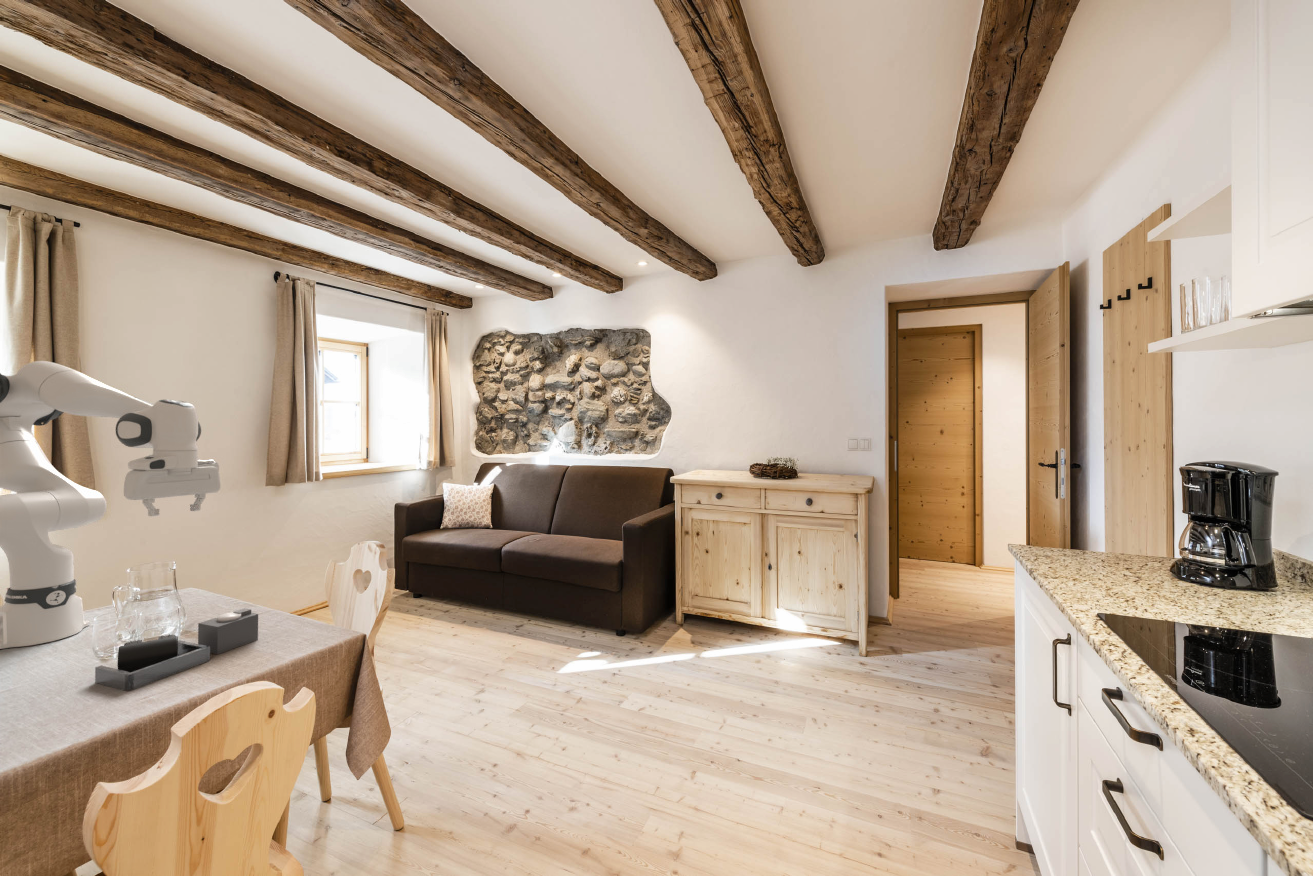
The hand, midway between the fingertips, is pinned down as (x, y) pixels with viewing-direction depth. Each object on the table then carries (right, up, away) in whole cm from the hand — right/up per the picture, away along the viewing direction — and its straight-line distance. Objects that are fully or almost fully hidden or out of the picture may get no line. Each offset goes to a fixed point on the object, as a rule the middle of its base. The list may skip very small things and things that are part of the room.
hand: (175, 513), depth 139 cm
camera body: (+15, -35, -1) cm, 38 cm away
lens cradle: (+11, -35, -17) cm, 40 cm away
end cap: (+8, -35, -15) cm, 39 cm away
